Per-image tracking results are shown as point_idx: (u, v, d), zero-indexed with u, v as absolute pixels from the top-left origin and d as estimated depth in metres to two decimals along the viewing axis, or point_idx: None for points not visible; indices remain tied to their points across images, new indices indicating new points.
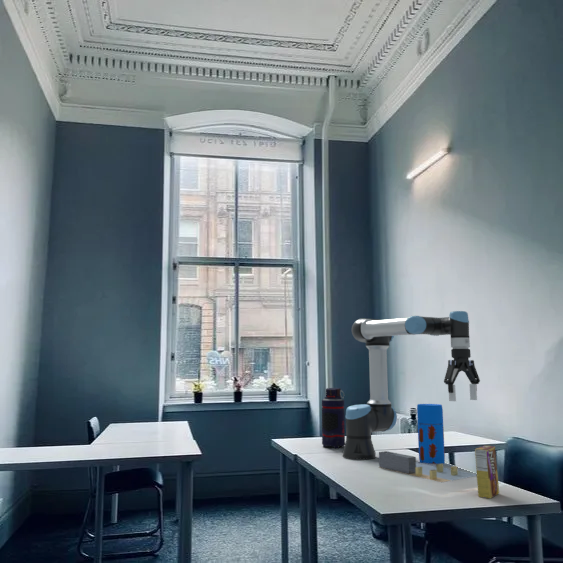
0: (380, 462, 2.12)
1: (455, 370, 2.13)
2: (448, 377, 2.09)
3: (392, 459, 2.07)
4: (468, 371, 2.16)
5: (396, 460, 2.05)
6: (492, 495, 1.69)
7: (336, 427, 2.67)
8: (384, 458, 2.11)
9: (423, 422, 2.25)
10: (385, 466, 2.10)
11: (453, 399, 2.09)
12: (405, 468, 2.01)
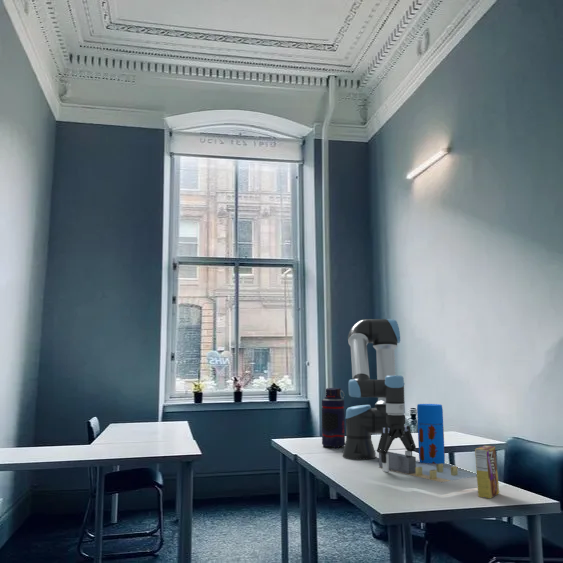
0: (380, 462, 2.12)
1: (389, 438, 2.07)
2: (381, 447, 2.03)
3: (392, 459, 2.07)
4: (403, 438, 2.10)
5: (396, 460, 2.05)
6: (492, 495, 1.69)
7: (336, 427, 2.67)
8: None
9: (423, 422, 2.25)
10: None
11: (386, 469, 2.03)
12: (405, 468, 2.01)
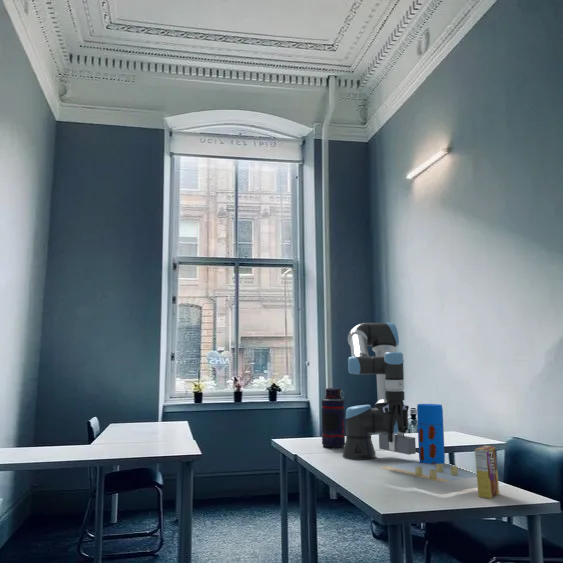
0: (380, 443, 2.14)
1: (391, 416, 2.09)
2: (386, 427, 2.07)
3: None
4: (399, 415, 2.11)
5: (396, 441, 2.07)
6: (492, 495, 1.69)
7: (336, 427, 2.67)
8: (384, 439, 2.12)
9: (423, 422, 2.25)
10: (384, 448, 2.12)
11: (393, 448, 2.07)
12: (405, 448, 2.03)
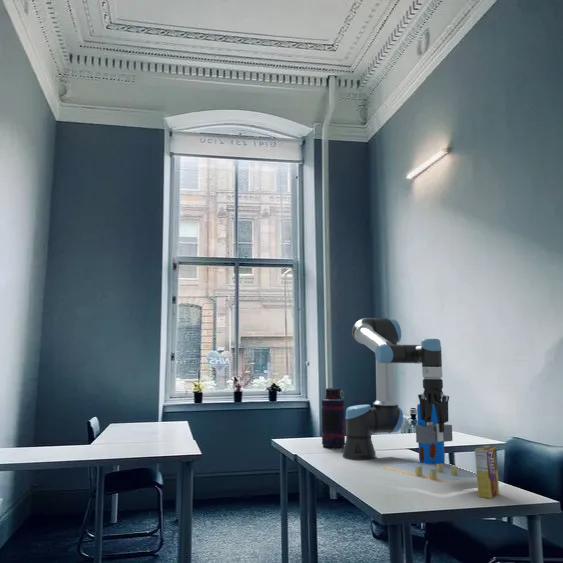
0: None
1: None
2: None
3: None
4: None
5: None
6: (492, 495, 1.69)
7: (336, 427, 2.67)
8: None
9: (423, 422, 2.25)
10: None
11: None
12: None
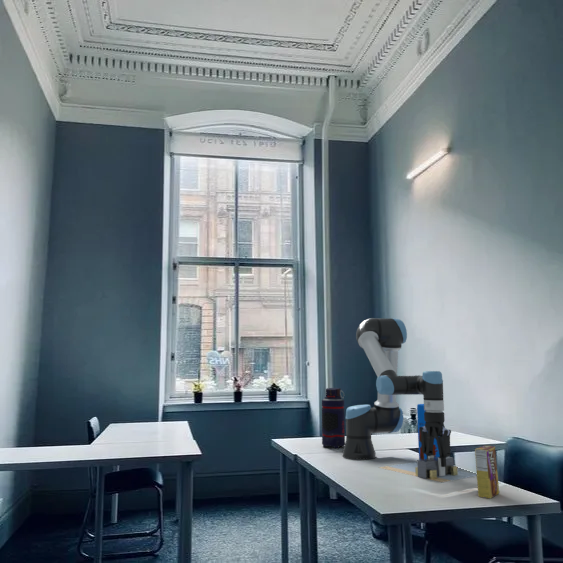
0: None
1: None
2: None
3: None
4: None
5: None
6: (492, 495, 1.69)
7: (336, 427, 2.67)
8: None
9: (423, 422, 2.25)
10: None
11: None
12: None
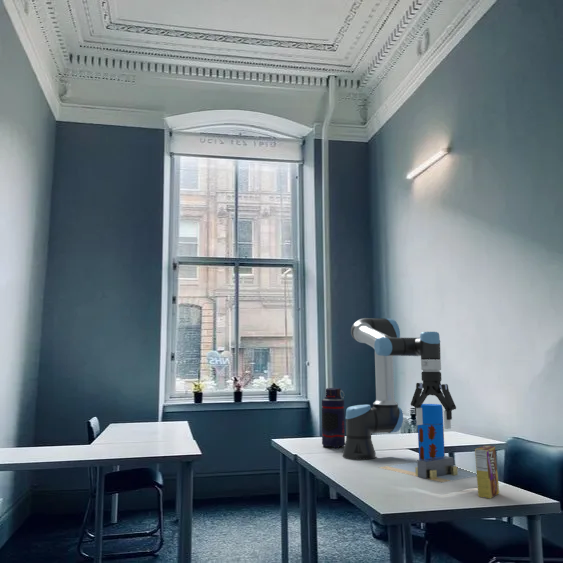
0: None
1: None
2: None
3: None
4: None
5: None
6: (492, 495, 1.69)
7: (336, 427, 2.67)
8: None
9: (423, 422, 2.25)
10: None
11: None
12: None
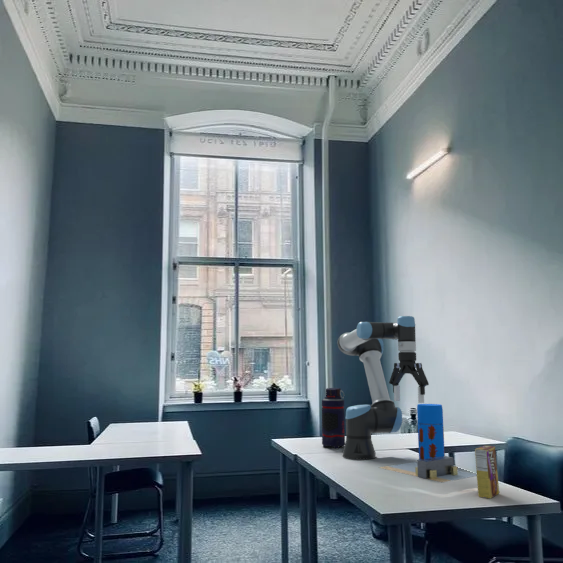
0: None
1: None
2: None
3: None
4: None
5: None
6: (492, 495, 1.69)
7: (336, 427, 2.67)
8: None
9: (423, 422, 2.25)
10: None
11: None
12: None
